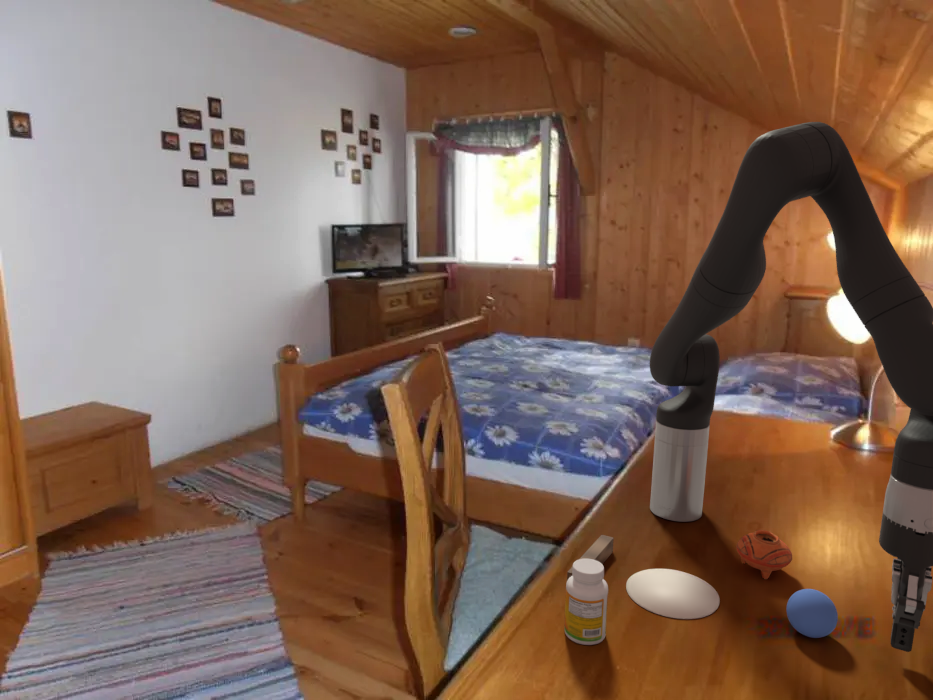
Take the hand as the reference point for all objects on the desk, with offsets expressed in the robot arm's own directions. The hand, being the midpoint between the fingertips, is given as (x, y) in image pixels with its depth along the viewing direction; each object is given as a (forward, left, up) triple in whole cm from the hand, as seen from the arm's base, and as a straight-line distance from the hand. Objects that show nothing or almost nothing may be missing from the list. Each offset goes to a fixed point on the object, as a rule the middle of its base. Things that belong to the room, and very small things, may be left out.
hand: (900, 646), depth 84 cm
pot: (-14, -18, -2) cm, 23 cm away
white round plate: (0, -28, -2) cm, 28 cm away
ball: (0, -10, +1) cm, 10 cm away
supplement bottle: (+16, -35, -2) cm, 38 cm away
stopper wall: (0, -41, -2) cm, 41 cm away
